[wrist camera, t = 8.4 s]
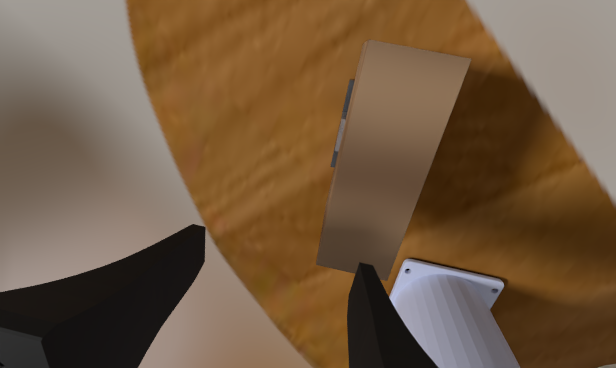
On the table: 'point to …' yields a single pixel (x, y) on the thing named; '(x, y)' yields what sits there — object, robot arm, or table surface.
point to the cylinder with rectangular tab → (608, 366)
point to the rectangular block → (386, 152)
